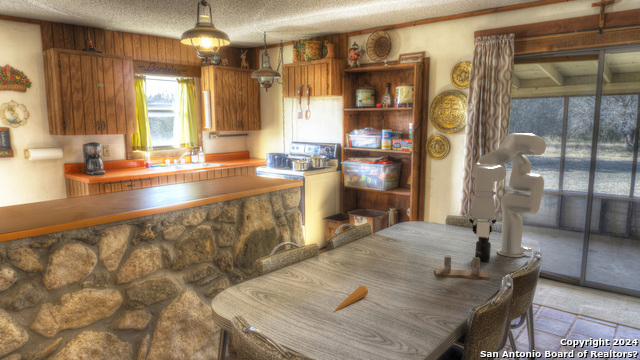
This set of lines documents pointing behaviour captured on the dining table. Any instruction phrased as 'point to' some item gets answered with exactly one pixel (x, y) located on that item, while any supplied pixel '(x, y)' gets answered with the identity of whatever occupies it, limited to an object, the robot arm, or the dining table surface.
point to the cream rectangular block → (482, 228)
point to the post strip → (462, 273)
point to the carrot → (354, 296)
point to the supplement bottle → (483, 249)
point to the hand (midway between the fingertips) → (481, 233)
